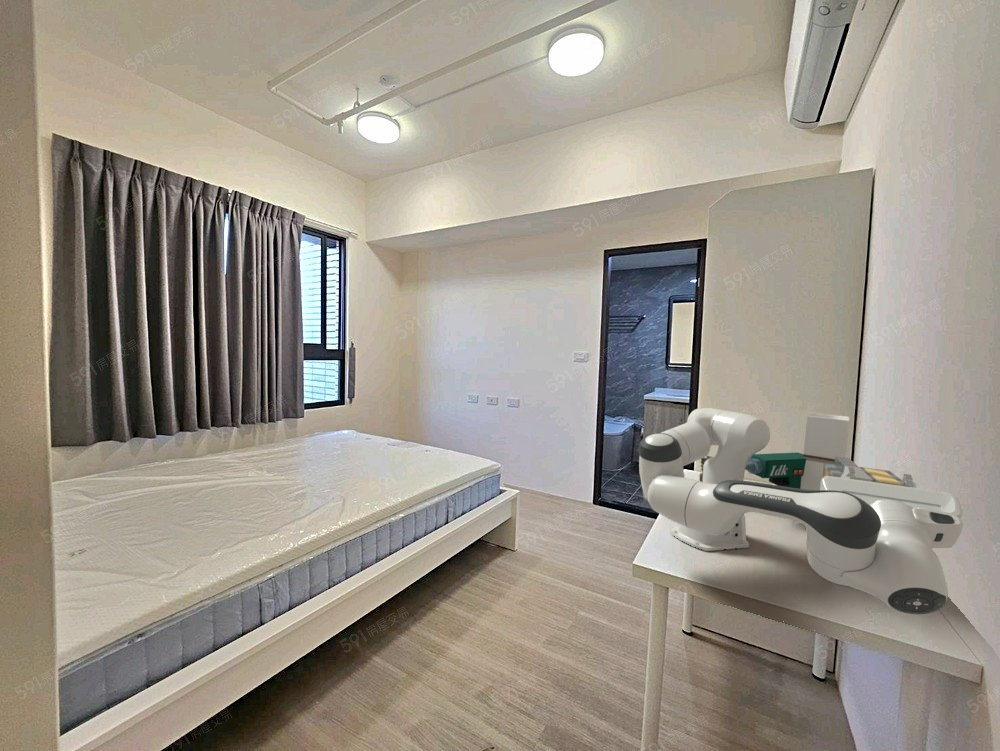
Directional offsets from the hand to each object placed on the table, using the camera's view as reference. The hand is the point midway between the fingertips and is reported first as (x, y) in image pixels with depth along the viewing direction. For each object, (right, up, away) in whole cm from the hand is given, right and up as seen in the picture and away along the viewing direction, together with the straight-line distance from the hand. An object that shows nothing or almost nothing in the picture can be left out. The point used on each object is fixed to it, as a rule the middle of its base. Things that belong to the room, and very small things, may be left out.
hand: (877, 472), depth 86 cm
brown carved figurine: (+5, -27, +81) cm, 85 cm away
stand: (+14, -31, +22) cm, 41 cm away
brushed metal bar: (+9, -5, +17) cm, 20 cm away
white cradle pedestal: (+36, -29, +62) cm, 78 cm away
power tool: (+17, -29, +63) cm, 71 cm away
